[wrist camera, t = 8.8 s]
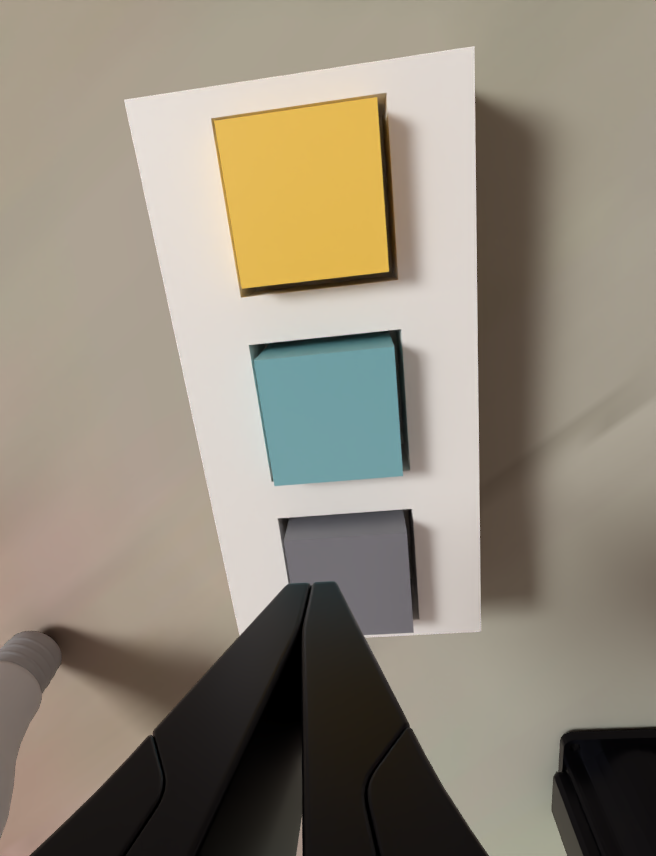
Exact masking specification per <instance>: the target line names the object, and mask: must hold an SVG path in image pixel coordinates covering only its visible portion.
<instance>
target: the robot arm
mask: <svg viewBox="0 0 656 856" xmlns="http://www.w3.org/2000/svg"><path fill="white" fill-rule="evenodd" d="M153 736H154V737H153ZM153 736H152V735H149V736H148V737H147V738H146V739H145V740H144V741H143V742H142V743H141V744H140V746H139V747H138V748H137V749H136V750H135V751H134V752H133V753H132V754H131V755H130V757H129V758H128V759H127V760H126V761H125V762H124V763H123V764H122V765H121V766H120V767H119V768H118V769H117V770H116V771H115V772H114V773H113V774H112V775H111V777H110V778H109V779H108V780H107V781H106V782H105V783H104V784H103V785H102V786H101V787H100V788H99V789H98V790H97V791H96V792H95V793H94V794H93V795H92V796H91V797H90V798H89V799H88V800H87V801H86V802H85V803H84V804H83V805H82V806H81V807H80V808H79V809H78V810H77V811H76V812H75V813H74V814H73V815H72V816H71V817H70V818H69V819H68V820H66V821H65V822H64V823H63V824H62V825H61V826H60V827H59V828H58V829H57V830H56V831H55V832H54V833H53V834H52V835H51V836H50V837H49V838H48V839H47V840H46V841H45V842H43V843H42V844H41V845H40V846H39V847H38V848H37V849H36V850H35V851H34V852H33V853H32V854H31V855H30V856H296V852H297V845H298V838H299V831H300V825H301V818H302V839H303V856H489V855H488V854H487V852H486V851H485V849H484V848H483V847H482V845H481V844H480V842H479V841H478V839H477V838H476V836H475V835H474V833H473V832H472V830H471V829H470V828H469V826H468V824H467V823H466V821H465V820H464V818H463V817H462V815H461V814H460V812H459V810H458V809H457V807H456V806H455V804H454V803H453V801H452V800H451V798H450V796H449V795H448V793H447V792H446V790H445V789H444V787H443V785H442V784H441V782H440V780H439V778H438V776H437V775H436V773H435V771H434V769H433V767H432V766H431V764H430V762H429V760H428V758H427V757H426V755H425V753H424V751H423V749H422V747H421V745H420V743H419V742H418V740H417V738H416V736H415V734H414V732H413V730H412V729H411V728H410V725H409V723H408V721H407V719H406V717H405V715H404V713H403V711H402V709H401V707H400V705H399V703H398V701H397V699H396V697H395V695H394V693H393V691H392V690H391V688H390V686H389V684H388V682H387V680H386V678H385V676H384V674H383V672H382V670H381V668H380V666H379V664H378V662H377V660H376V658H375V656H374V654H373V652H372V651H371V649H370V647H369V645H368V643H367V641H366V639H365V637H364V635H363V633H362V631H361V629H360V627H359V625H358V623H357V621H356V619H355V617H354V615H353V613H352V612H351V610H350V608H349V606H348V604H347V602H346V600H345V598H344V596H343V594H342V592H341V590H340V588H339V586H338V584H337V583H336V582H335V581H324V582H314V583H313V584H312V586H311V584H310V583H307V582H306V583H290V584H287V585H286V586H285V587H284V588H283V589H282V590H281V591H280V592H279V593H278V594H277V595H276V596H275V598H274V599H273V600H272V601H271V602H270V603H269V604H268V605H267V606H266V607H265V609H264V610H263V611H262V612H261V613H260V614H259V615H258V616H257V617H256V618H255V620H254V621H253V622H252V623H251V624H250V625H249V626H248V627H247V628H246V629H245V631H244V632H243V633H242V634H241V635H240V636H239V637H238V638H237V639H236V640H235V642H234V643H233V644H232V645H231V646H230V647H229V648H228V649H227V650H226V651H225V652H224V654H223V655H222V656H221V657H220V658H219V659H218V660H217V661H216V662H215V663H214V665H213V666H212V667H211V668H210V669H209V670H208V671H207V672H206V673H205V674H204V676H203V677H202V678H201V679H200V680H199V681H198V682H197V683H196V684H195V685H194V687H193V688H192V689H191V690H190V691H189V692H188V693H187V694H186V695H185V696H184V698H183V699H182V700H181V701H180V702H179V703H178V704H177V705H176V706H175V707H174V709H173V710H172V711H171V712H170V713H169V714H168V715H167V716H166V717H165V718H164V720H163V721H162V722H161V723H160V724H159V725H158V726H157V727H156V728H155V729H154V731H153ZM552 813H553V816H554V819H555V822H556V825H557V828H558V830H559V833H560V836H561V839H562V842H563V845H564V848H565V851H566V853H567V856H656V729H651V730H620V731H588V732H569V733H566V734H564V735H563V736H562V737H561V739H560V753H559V770H558V772H556V774H555V775H554V777H553V793H552Z"/></svg>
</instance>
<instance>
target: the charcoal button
mask: <svg viewBox="0 0 656 856" xmlns="http://www.w3.org/2000/svg"><path fill="white" fill-rule="evenodd" d="M284 547H285V553H286V559H287V565H288V571H289V577H290V583H306V582H307V583H310V584H311V586H312V584H313V583H314V582H324V581H335V582H336V583H337V584H338V586H339V588H340V590H341V592H342V594H343V596H344V598H345V600H346V602H347V604H348V606H349V608H350V610H351V612H352V613H353V615H354V617H355V619H356V621H357V623H358V625H359V627H360V629H361V631H362V633H363V635H378V634H398V633H414V629H413V614H412V600H411V585H410V570H409V556H408V541H407V530H406V525H405V519H404V513H403V509H402V510H388V511H374V512H360V513H346V514H332V515H319V516H305V517H291V518H289V521H288V525H287V529H286V533H285V537H284Z"/></svg>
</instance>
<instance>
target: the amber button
mask: <svg viewBox="0 0 656 856" xmlns="http://www.w3.org/2000/svg"><path fill="white" fill-rule="evenodd" d="M214 124H215V130H216V136H217V142H218V148H219V154H220V160H221V166H222V172H223V178H224V184H225V190H226V196H227V202H228V208H229V214H230V220H231V226H232V233H233V239H234V245H235V251H236V257H237V263H238V269H239V275H240V281H241V287H242V289H243V288H252V287H261V286H270V285H278V284H287V283H296V282H304V281H313V280H322V279H330V278H339V277H348V276H357V275H365V274H374V273H383V272H389V262H388V247H387V233H386V218H385V204H384V189H383V174H382V160H381V145H380V130H379V116H378V101H377V97H373V98H367V99H360V100H353V101H346V102H339V103H332V104H326V105H319V106H312V107H305V108H298V109H291V110H285V111H278V112H271V113H264V114H257V115H250V116H244V117H237V118H230V119H223V120H216V121H214Z"/></svg>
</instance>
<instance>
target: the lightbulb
mask: <svg viewBox="0 0 656 856" xmlns="http://www.w3.org/2000/svg"><path fill="white" fill-rule="evenodd" d="M61 661H62V655H61V650H60V648H59V646H58V644H57V643H56V642H55V641H54V640H53V639H52V638H51V637H49V636H48V635H46V634H43V633H41V632H37V631H25V632H21V633H18V634H16V635H14V636H13V637H12V638H11V639H10V640H8V641H7V642H6V643H5V644H4V646H3V647H1V648H0V838H1V835H2V832H3V830H4V827H5V825H6V821H7V818H8V815H9V809H10V803H11V798H12V792H13V786H14V776H15V765H16V759H17V755H18V751H19V748H20V744H21V741H22V739H23V737H24V735H25V733H26V730H27V728H28V726H29V724H30V722H31V720H32V719H33V717H34V716H35V714H36V712H37V711H38V709H39V707H40V703H41V700H42V693H43V692H44V690H45V688H46V687H47V686H48V685H49V683H50V681H51V679H52V678H53V677H54V675H55V673H56V671H57V669H58V668H59V666H60V664H61Z"/></svg>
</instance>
